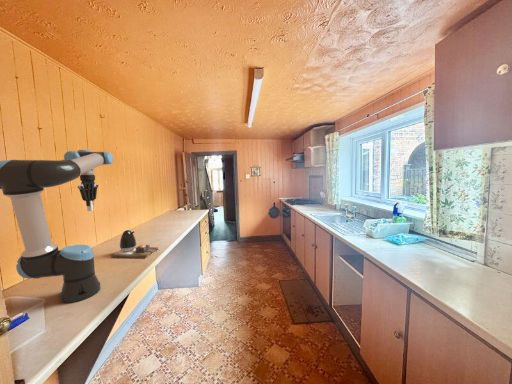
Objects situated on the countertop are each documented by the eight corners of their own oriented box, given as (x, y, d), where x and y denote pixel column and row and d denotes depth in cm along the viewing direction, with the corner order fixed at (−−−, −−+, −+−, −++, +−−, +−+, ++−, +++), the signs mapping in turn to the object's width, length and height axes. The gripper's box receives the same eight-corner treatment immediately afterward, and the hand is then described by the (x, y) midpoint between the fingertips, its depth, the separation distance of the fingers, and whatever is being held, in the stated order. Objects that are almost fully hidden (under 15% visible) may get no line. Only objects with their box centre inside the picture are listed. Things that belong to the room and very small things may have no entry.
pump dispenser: (130, 253, 146) (128, 232, 145) (116, 253, 147) (115, 232, 146) (139, 248, 156) (138, 228, 155) (127, 247, 157) (125, 228, 156)
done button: (143, 250, 148) (143, 246, 148) (138, 250, 149) (138, 246, 148) (147, 248, 152) (146, 244, 152) (142, 248, 153) (141, 244, 152)
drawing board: (145, 258, 142) (145, 250, 142) (111, 257, 144) (110, 250, 144) (158, 249, 158) (158, 242, 158) (127, 249, 160) (127, 242, 160)
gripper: (83, 174, 126) (86, 212, 128) (101, 174, 139) (104, 209, 141) (72, 174, 126) (75, 212, 129) (90, 174, 139) (93, 209, 142)
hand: (90, 210), depth 135 cm, fingers closed
